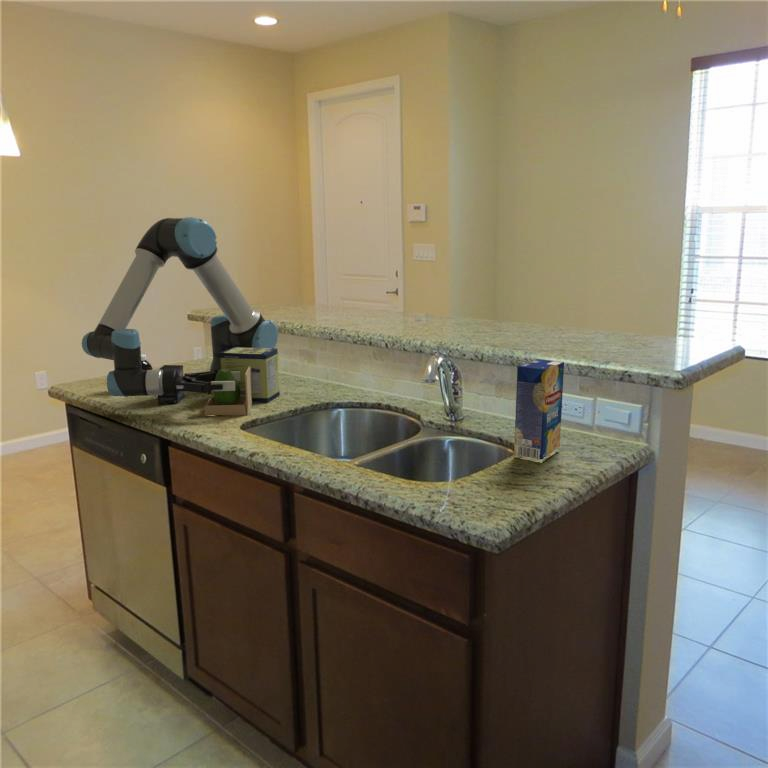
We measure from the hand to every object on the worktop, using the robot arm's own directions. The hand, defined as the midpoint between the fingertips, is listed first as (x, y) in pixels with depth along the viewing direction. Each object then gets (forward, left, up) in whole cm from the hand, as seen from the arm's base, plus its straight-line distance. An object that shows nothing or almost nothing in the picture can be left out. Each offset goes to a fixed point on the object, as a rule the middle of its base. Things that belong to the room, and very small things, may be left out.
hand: (237, 380), depth 208 cm
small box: (+7, -26, -9) cm, 29 cm away
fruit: (+3, -2, -9) cm, 9 cm away
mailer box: (+3, -2, -9) cm, 10 cm away
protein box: (-11, -10, -9) cm, 18 cm away
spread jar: (+7, -49, -9) cm, 50 cm away
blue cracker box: (-25, +87, -9) cm, 91 cm away
